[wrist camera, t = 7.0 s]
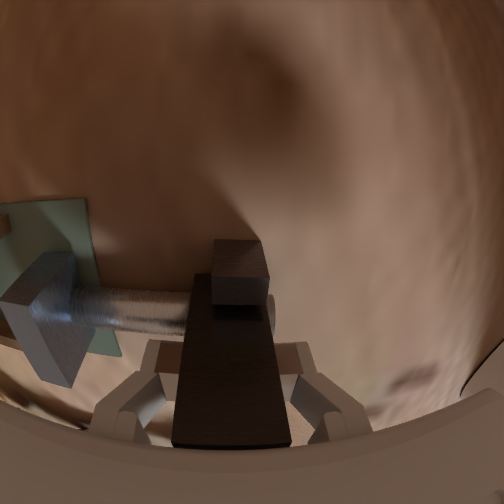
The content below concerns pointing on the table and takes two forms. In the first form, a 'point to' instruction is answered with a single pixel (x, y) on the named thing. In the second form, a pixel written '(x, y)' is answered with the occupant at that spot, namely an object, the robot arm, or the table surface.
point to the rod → (163, 323)
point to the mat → (52, 249)
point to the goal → (3, 332)
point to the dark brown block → (239, 273)
